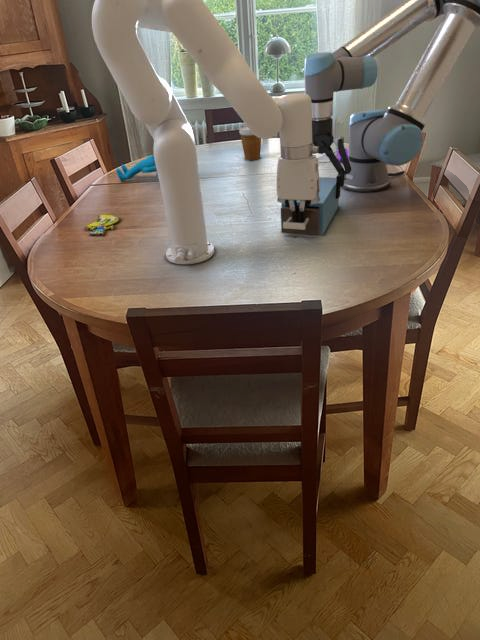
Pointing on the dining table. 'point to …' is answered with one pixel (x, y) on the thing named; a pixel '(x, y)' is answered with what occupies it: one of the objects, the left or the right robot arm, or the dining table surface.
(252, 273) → the dining table surface
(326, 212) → the blue drawer cabinet
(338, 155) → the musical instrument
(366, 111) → the right robot arm
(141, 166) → the toy
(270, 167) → the dining table surface
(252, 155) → the disposable coffee cup
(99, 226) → the toy
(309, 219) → the drawer
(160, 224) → the dining table surface
